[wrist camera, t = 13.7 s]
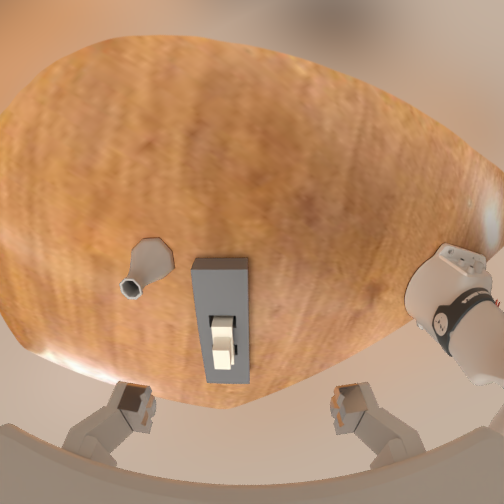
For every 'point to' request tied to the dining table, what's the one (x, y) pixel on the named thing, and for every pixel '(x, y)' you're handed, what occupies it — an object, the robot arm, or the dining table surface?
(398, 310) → the dining table surface
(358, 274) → the dining table surface
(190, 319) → the dining table surface
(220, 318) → the clip
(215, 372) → the rail
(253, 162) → the dining table surface
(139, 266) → the flask
